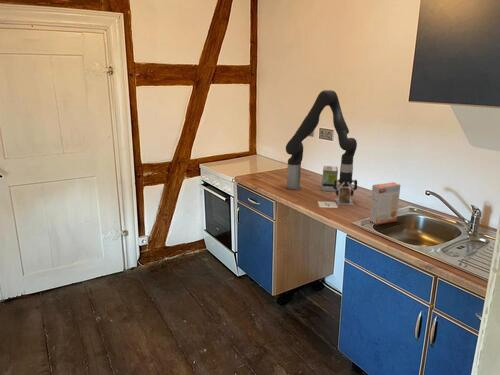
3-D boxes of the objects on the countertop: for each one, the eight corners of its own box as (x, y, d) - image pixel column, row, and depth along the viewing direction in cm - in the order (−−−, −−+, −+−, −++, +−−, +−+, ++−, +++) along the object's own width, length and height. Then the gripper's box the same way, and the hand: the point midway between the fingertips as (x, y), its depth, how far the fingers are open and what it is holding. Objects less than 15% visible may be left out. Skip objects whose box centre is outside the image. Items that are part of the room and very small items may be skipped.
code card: (319, 207, 226) (319, 207, 226) (317, 201, 236) (317, 201, 236) (338, 207, 225) (338, 207, 225) (335, 202, 236) (335, 201, 236)
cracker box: (389, 217, 210) (393, 181, 204) (396, 221, 204) (401, 184, 198) (368, 221, 205) (372, 184, 199) (375, 225, 199) (379, 187, 193)
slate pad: (337, 204, 231) (337, 204, 231) (334, 198, 242) (334, 198, 242) (354, 205, 230) (354, 204, 230) (350, 198, 242) (350, 198, 242)
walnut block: (341, 202, 233) (342, 190, 231) (339, 199, 240) (340, 187, 237) (349, 203, 233) (350, 190, 230) (347, 199, 239) (348, 187, 237)
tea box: (336, 191, 257) (338, 170, 253) (321, 191, 259) (322, 170, 255) (336, 185, 271) (337, 165, 267) (322, 185, 273) (323, 165, 269)
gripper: (335, 171, 227) (333, 197, 232) (359, 172, 227) (357, 197, 231) (333, 169, 235) (332, 193, 239) (356, 169, 234) (354, 194, 238)
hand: (344, 195), depth 235 cm, fingers open, 8 cm apart
